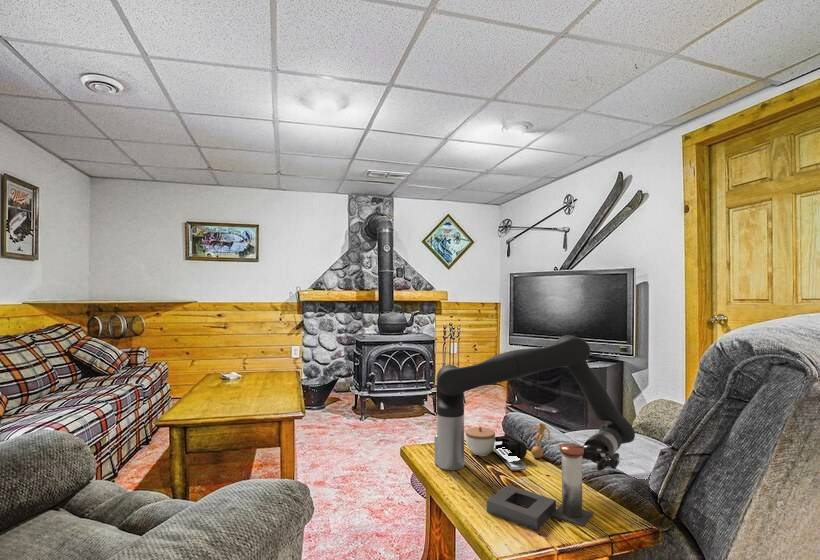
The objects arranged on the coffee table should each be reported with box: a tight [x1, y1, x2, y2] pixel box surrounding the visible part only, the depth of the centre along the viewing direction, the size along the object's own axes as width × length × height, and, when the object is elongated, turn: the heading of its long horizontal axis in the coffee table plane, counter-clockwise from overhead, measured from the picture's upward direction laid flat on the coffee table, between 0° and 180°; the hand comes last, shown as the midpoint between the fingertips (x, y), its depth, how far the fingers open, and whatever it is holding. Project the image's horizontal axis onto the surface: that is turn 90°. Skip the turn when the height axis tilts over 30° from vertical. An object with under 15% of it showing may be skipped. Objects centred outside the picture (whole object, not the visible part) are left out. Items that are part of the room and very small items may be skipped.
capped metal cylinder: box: [559, 442, 584, 518], centre depth 113 cm, size 6×6×17 cm
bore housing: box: [486, 484, 557, 531], centre depth 114 cm, size 14×12×3 cm
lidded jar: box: [464, 426, 496, 457], centre depth 156 cm, size 11×11×9 cm
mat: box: [551, 503, 594, 528], centre depth 112 cm, size 8×8×1 cm
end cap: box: [494, 432, 528, 460], centre depth 152 cm, size 10×7×7 cm
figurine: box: [530, 422, 551, 459], centre depth 152 cm, size 8×6×12 cm
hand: (582, 463), depth 118 cm, fingers open, 8 cm apart
